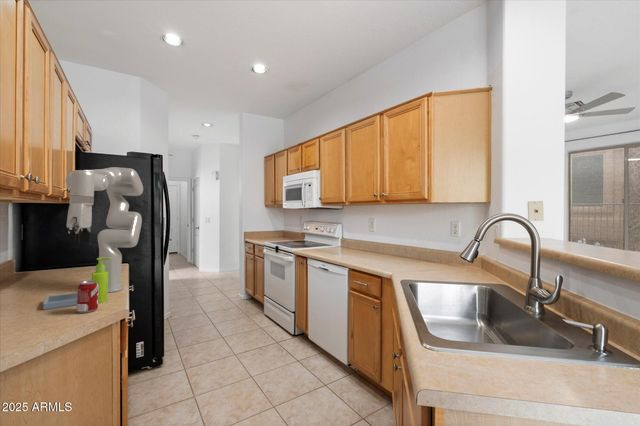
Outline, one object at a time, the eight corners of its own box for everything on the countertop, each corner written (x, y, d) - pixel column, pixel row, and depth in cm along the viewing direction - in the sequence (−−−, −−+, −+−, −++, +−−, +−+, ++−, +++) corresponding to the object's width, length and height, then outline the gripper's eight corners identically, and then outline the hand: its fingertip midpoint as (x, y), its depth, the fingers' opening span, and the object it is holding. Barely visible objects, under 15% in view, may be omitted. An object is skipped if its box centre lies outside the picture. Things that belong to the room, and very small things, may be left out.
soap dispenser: (109, 302, 127) (111, 258, 127) (89, 304, 124) (91, 259, 124) (110, 298, 132) (112, 256, 132) (91, 300, 128) (93, 257, 129)
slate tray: (45, 302, 124) (45, 296, 124) (83, 297, 133) (84, 291, 133) (43, 310, 115) (43, 304, 115) (84, 304, 123) (85, 298, 123)
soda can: (85, 314, 112) (86, 284, 112) (72, 312, 113) (73, 283, 113) (101, 309, 118) (103, 280, 118) (88, 307, 120) (90, 279, 120)
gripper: (80, 201, 122) (78, 241, 121) (58, 199, 106) (56, 244, 105) (101, 202, 124) (99, 241, 124) (83, 200, 108) (80, 244, 108)
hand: (79, 242), depth 114 cm, fingers open, 9 cm apart
